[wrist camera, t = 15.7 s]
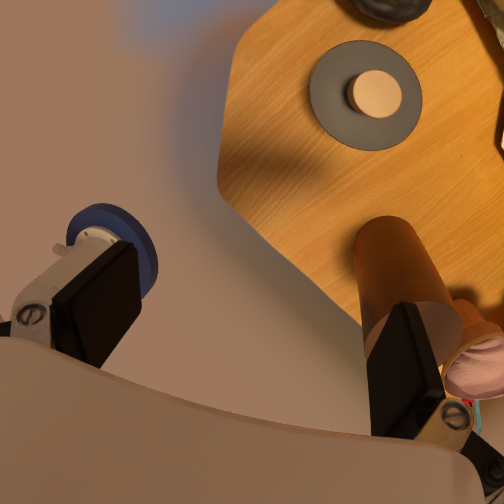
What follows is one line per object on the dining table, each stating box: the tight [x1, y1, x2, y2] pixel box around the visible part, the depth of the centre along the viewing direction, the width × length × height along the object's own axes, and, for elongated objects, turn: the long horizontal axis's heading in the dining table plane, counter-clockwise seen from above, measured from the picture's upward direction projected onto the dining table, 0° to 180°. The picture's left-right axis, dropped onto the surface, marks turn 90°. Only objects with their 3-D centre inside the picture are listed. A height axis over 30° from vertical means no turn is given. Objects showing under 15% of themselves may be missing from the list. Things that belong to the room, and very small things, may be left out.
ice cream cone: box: [441, 298, 504, 435], centre depth 31 cm, size 11×11×20 cm
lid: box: [309, 40, 422, 151], centre depth 21 cm, size 10×10×6 cm
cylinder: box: [353, 216, 463, 367], centre depth 31 cm, size 9×9×18 cm
